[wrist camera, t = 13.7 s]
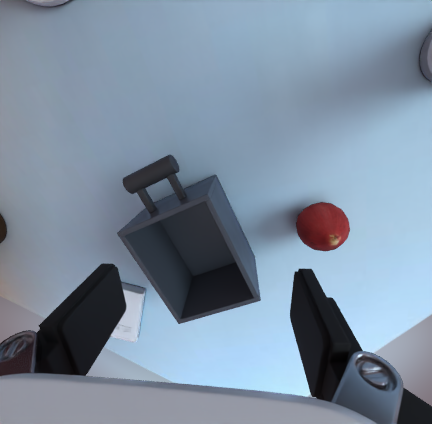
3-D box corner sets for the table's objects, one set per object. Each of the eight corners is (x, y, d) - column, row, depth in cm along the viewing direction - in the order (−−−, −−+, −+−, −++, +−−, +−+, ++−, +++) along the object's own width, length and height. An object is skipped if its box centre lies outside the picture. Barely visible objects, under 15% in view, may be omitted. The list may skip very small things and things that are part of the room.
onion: (335, 228, 30) (367, 261, 23) (294, 237, 31) (311, 271, 24) (331, 190, 28) (364, 212, 21) (286, 201, 29) (303, 226, 22)
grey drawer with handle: (130, 175, 30) (89, 194, 22) (200, 140, 27) (183, 146, 19) (192, 278, 36) (178, 324, 27) (254, 256, 33) (260, 300, 25)
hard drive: (146, 288, 38) (139, 336, 42) (100, 276, 37) (98, 325, 42) (142, 294, 36) (135, 344, 41) (95, 282, 36) (93, 333, 41)
